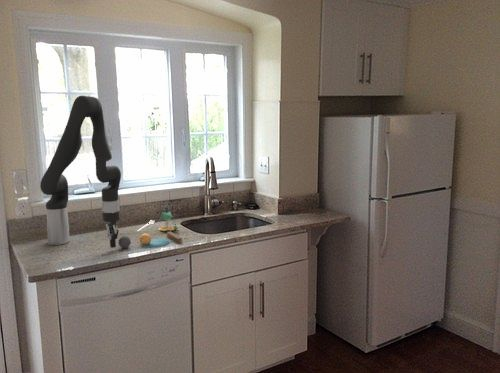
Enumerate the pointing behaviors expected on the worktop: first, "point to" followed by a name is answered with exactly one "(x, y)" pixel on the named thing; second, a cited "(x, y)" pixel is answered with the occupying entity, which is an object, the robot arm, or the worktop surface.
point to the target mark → (156, 243)
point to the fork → (146, 225)
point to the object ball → (145, 239)
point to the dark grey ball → (124, 242)
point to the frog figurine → (166, 217)
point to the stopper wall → (174, 237)
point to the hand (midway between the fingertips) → (113, 247)
